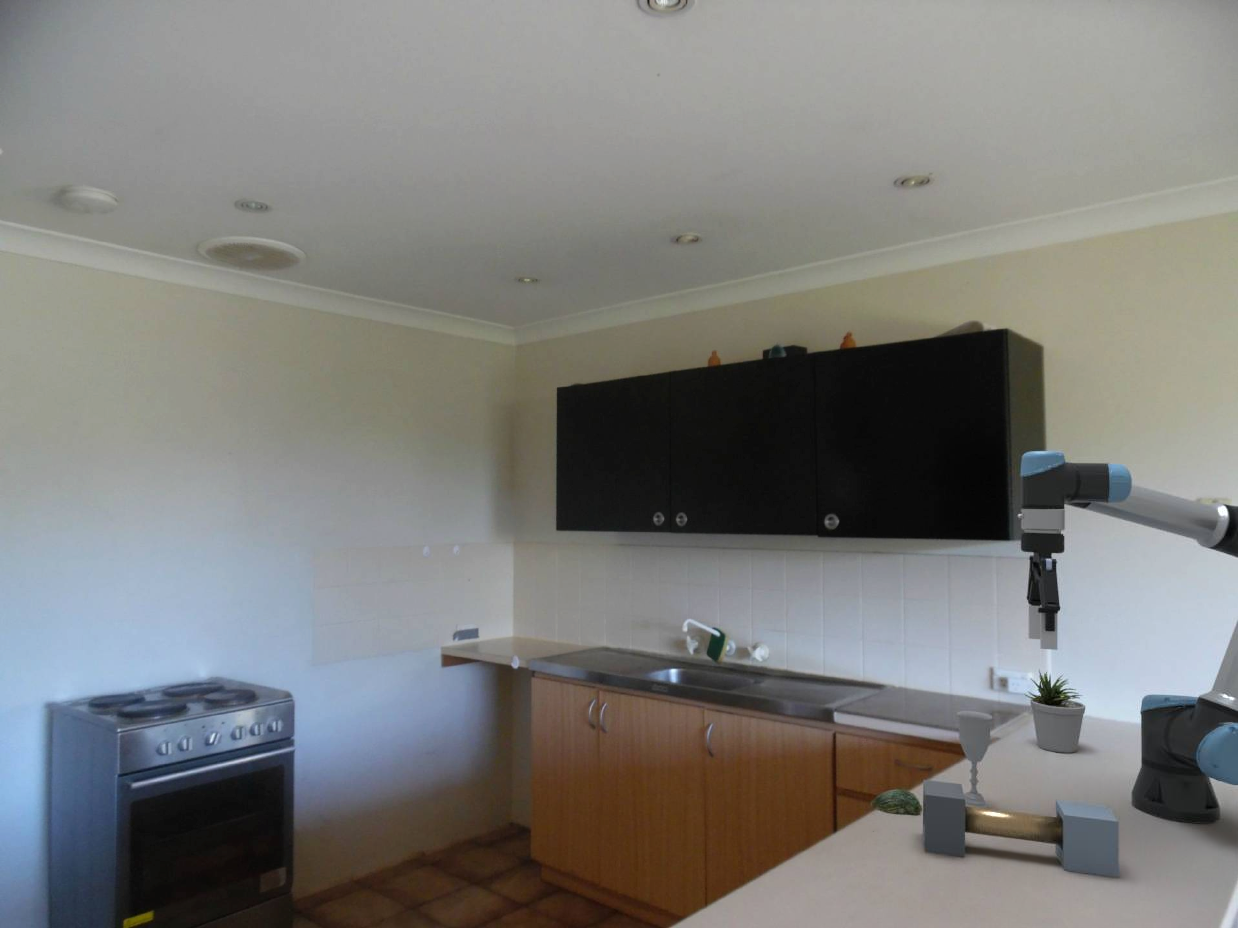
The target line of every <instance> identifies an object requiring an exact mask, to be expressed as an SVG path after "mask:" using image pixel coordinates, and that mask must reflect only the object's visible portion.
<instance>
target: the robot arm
mask: <svg viewBox="0 0 1238 928" xmlns="http://www.w3.org/2000/svg"><path fill="white" fill-rule="evenodd" d="M1019 477H1020V500H1021V501H1020V502H1021V503H1020V509H1021V510H1020V511H1021V513H1018V514H1017V518H1018V519H1019V520H1021V521H1020V528H1021V530H1023V531H1024V532H1022V533H1021V534H1020V550H1021V552H1024V553H1033V555H1029V558H1028V560H1029V564H1028V565H1029V567H1028V568H1029V570H1028V578H1027V579H1028V582H1027V592H1026V594H1027V595H1026V600H1027V604H1028V639H1031V640H1040V643H1039V645H1040V649H1041V650H1055V651H1057V650H1058V612H1060V611H1061V606H1060V595H1059V584H1058V574H1057V564H1058V563H1057V559H1056V558H1053V557H1052V556H1053V555H1052V554H1063V553H1065V535H1064V533H1062V532H1063V531H1064V530H1065V528H1066V526H1065V525H1066V518H1065V517H1066V515H1065V514H1066V512H1065V511H1066V510H1065V505H1066V506H1070V507H1073V508H1077V509H1083V510H1086V511H1090V512H1094V513H1096V514H1101V515H1105V516H1109V517H1111V518H1116V519H1119V520H1124V521H1126V522H1131V523H1135V524H1138V525H1141V526H1145V527H1149V528H1152V529H1156V530H1159V531H1163V532H1167V533H1170V534H1173V535H1178V536H1181V537H1185V538H1189V539H1193V540H1194V541H1195V540H1196V542H1197V543H1198V545H1199V546H1201V547H1202V548H1206V549H1210V550H1214V551H1216V552H1219V553H1223V554H1226V555H1229V556H1232V557H1235V558H1238V506H1237V505H1229V504H1226V503H1222V502H1218V501H1216V502H1212V503H1209V504H1206V503H1202V502H1199V501H1195V500H1192V499H1188V498H1185V497H1180V496H1178V495H1173V494H1169V493H1165V492H1161V491H1158V490H1155V489H1150V488H1147V487H1142V486H1139V485H1135V484H1133V483H1132V475H1131V472H1130V470H1129V469H1128V467H1126V466H1125V465H1123V464H1120V463H1118V464H1117V463H1110V462H1105V463H1104V462H1098V463H1097V462H1070V461H1069V462H1068V461H1066V459H1065V454H1064V453H1063V452H1061V451H1056V450H1055V451H1054V450H1036V451H1027V452H1025V453H1024V454H1023V455H1022V456H1021V462H1020V474H1019ZM1140 726H1141V727H1140V728H1141V730H1140V731H1141V733H1140V735H1141V737H1140V739H1141V741H1140V744H1141V746H1140V747H1141V748H1140V751H1141V758H1140V760H1141V761H1140V762H1141V766H1140V769H1139V772H1138V774H1137V777H1136V780H1135V783H1134V784H1133V788H1132V790H1131V804H1132V805H1133V806H1134V807H1135V808H1137V809H1138V810H1140V811H1142V812H1144V813H1146V814H1150V815H1153V816H1155V817H1160V818H1163V819H1167V820H1171V821H1177V822H1184V823H1190V824H1191V823H1192V824H1193V823H1194V824H1210V823H1211V824H1212V823H1215V822H1218V821H1220V820H1221V807H1220V803H1219V800H1218V798H1217V795H1216V792H1215V789H1214V786H1213V785H1212V781H1211V779H1213V780H1215V781H1218V782H1222V783H1225V784H1228V785H1232V786H1238V619H1237V621H1236V623H1235V626H1234V629H1233V631H1232V635H1231V637H1230V639H1229V642H1228V645H1227V648H1226V650H1225V653H1224V656H1223V659H1222V662H1221V663H1220V666H1219V669H1218V672H1217V674H1216V677H1215V680H1214V682H1213V685H1212V688H1211V690H1210V691H1208V692H1206V693H1203V694H1200V695H1198V696H1189V695H1174V694H1147V695H1145V696H1143V698H1142V700H1141V707H1140Z"/></svg>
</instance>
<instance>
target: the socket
mask: <svg viewBox="0 0 1238 928" xmlns="http://www.w3.org/2000/svg"><path fill="white" fill-rule="evenodd" d="M922 785H923V786H922V787H923V789H922V791H923V793H922V798H923V799H922V839H923V849H924V853H931V854H932V853H933V854H939V855H945V856H952V857H953V856H954V857H961V858H966V832H965V796H964V795H965V793H964V789H963V786H962V783H956V782H946V781H936V780H928V779H923V784H922Z"/></svg>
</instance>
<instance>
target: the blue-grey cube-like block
mask: <svg viewBox="0 0 1238 928" xmlns="http://www.w3.org/2000/svg"><path fill="white" fill-rule="evenodd" d="M1055 817H1061V818H1062V820H1063V845H1057V844H1055V854H1056V856H1057V859H1058V860H1059V862H1060V864H1061V867H1062V869H1063V870H1064V871H1067V872H1069V871H1070V872H1075V873H1080V874H1081V873H1082V874H1087V875H1088V874H1090V875H1098V876H1103V877H1110V878H1118V879H1119V874H1120V871H1119V869H1120V868H1119V865H1120V864H1119V858H1120V857H1119V856H1120V855H1119V854H1120V852H1119V851H1120V849H1119V845H1120V843H1119V842H1120V839H1119V838H1120V836H1119V835H1120V834H1119V832H1120V829H1119V828H1120V827H1119V825H1120V821H1119V820H1118V819H1117V817H1116V816H1115V815H1114V813H1113V812H1112V810H1111V809H1110V808H1109V806H1108V805H1101V804H1094V803H1093V804H1092V803H1085V802H1083V803H1082V802H1075V801H1067V800H1061V799H1060V800H1059V799H1058V800H1057V799H1056V800H1055Z"/></svg>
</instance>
